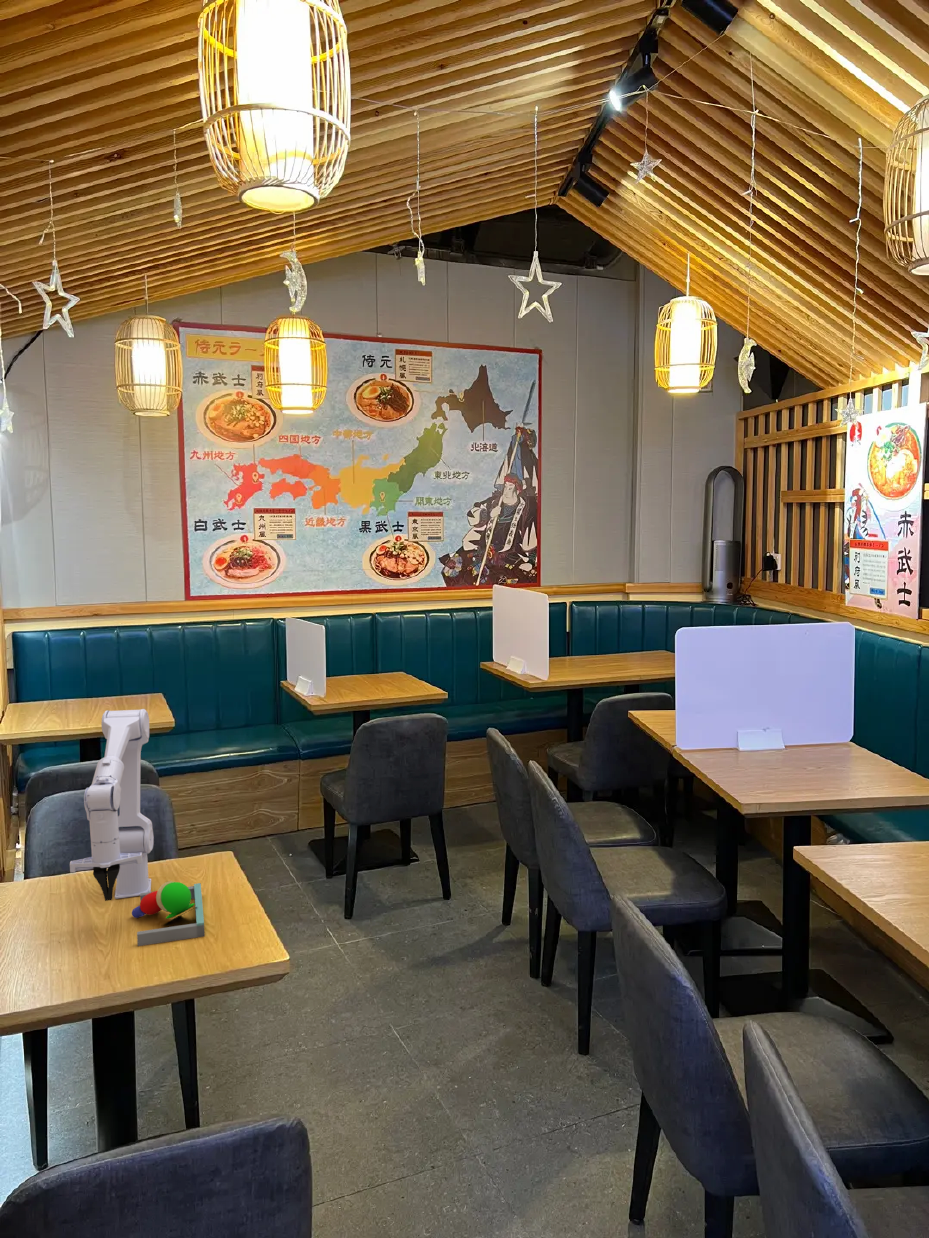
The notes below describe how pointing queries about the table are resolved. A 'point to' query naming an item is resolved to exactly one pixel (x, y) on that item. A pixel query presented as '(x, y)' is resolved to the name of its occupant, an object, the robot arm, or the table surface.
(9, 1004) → the table surface
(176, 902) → the toy
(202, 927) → the bay
